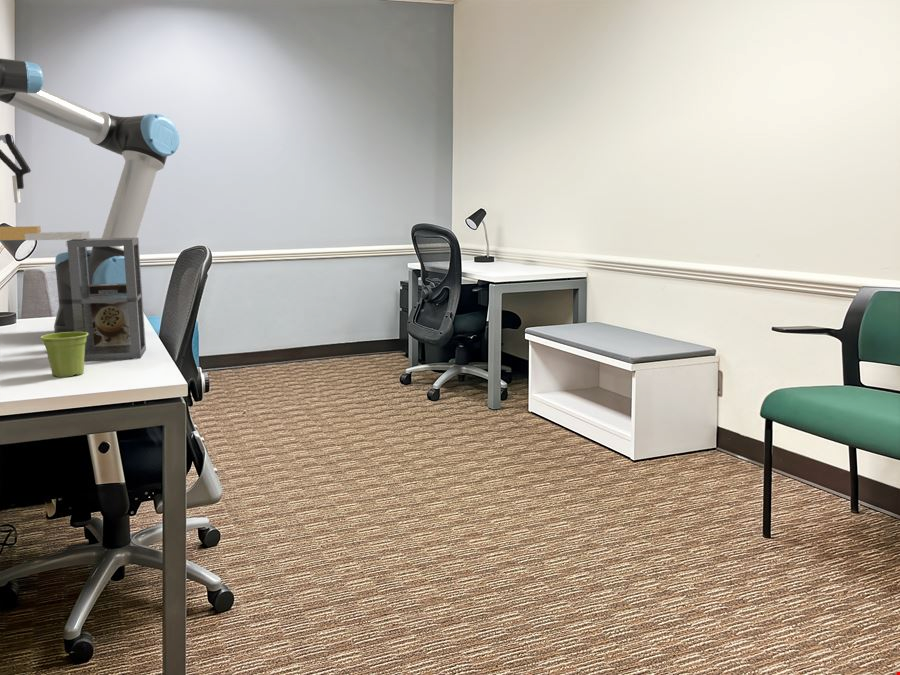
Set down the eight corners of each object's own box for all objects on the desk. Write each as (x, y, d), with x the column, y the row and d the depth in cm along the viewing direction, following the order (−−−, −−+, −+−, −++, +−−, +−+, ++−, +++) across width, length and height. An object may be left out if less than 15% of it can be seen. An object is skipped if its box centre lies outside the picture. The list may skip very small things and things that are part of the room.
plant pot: (38, 380, 174) (34, 339, 172) (50, 371, 183) (47, 332, 182) (86, 377, 176) (82, 337, 174) (95, 369, 185) (92, 330, 183)
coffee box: (93, 349, 210) (87, 286, 208) (93, 346, 216) (88, 283, 213) (131, 347, 213) (127, 284, 211) (131, 343, 219) (126, 282, 217)
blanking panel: (-21, 239, 195) (-22, 226, 195) (89, 237, 201) (88, 225, 201) (-34, 241, 186) (-35, 227, 185) (82, 239, 192) (81, 226, 191)
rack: (84, 352, 206) (75, 238, 201) (146, 349, 209) (138, 237, 205) (75, 361, 194) (65, 240, 190) (140, 358, 198) (132, 239, 193)
